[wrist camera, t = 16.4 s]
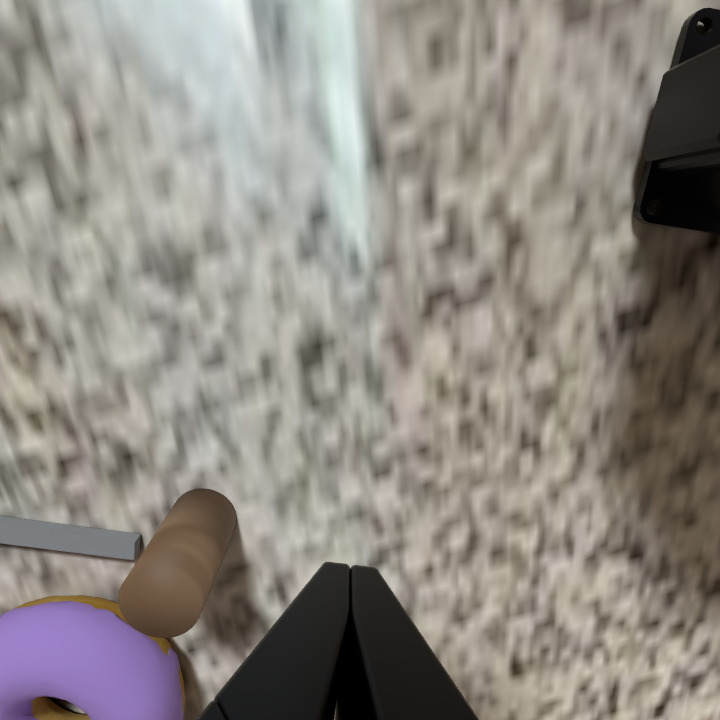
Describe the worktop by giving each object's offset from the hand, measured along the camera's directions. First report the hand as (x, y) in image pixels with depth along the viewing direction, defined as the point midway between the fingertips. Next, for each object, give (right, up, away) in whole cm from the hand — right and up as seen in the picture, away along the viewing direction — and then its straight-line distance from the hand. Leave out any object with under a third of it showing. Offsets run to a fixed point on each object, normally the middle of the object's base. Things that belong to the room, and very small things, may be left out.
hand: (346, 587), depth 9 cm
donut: (-12, -10, +15) cm, 22 cm away
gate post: (-6, -3, +13) cm, 15 cm away
